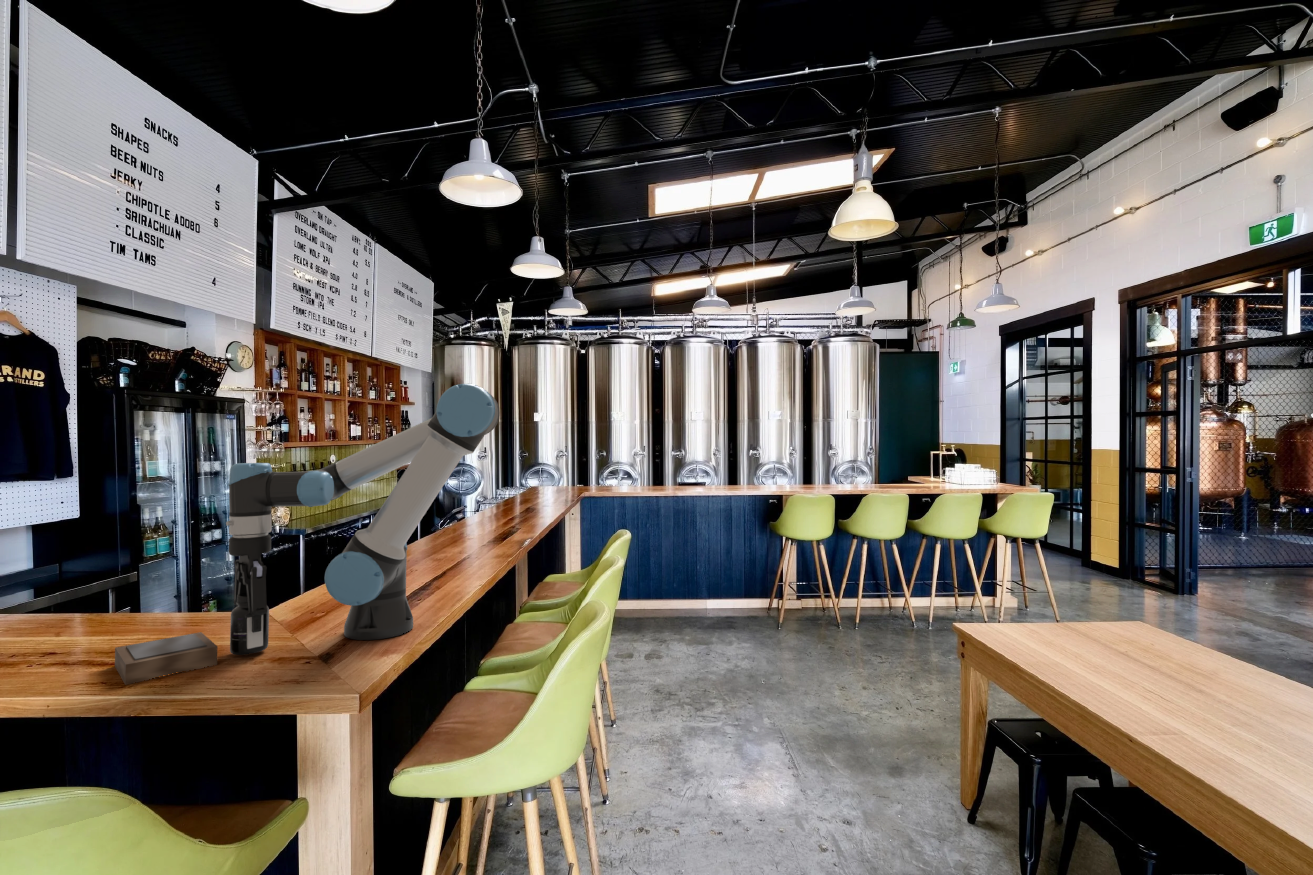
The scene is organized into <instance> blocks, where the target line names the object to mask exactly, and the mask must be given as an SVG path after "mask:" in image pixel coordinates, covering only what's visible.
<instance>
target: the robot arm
mask: <svg viewBox="0 0 1313 875" xmlns="http://www.w3.org/2000/svg"><path fill="white" fill-rule="evenodd" d="M435 410H436V411H435V413H434V414H433V416H432V417H431V418H429V419H427V420H425V421H422V422H419V423H418V424H415V425H414V426H412V427H408V428H407V429H405V430H403V431H401V432H398V433H396V434H394V435H392V436H390V437H388V438H386V439H385V438H384V439H383V440H381V441H379V442H377V443H375V444H373V445H370V446H368V447H366V448H364V449H362V450H359V451H357V452H354V453H353V454H350V455H349V456H346V457H345V458H341V459H340V460H338V461H336V462H334V463H331V464H329V465H326V466H325V467H322V468H320V469H315V470H306V471H302V470H301V471H283V472H282V471H273V468H272V465H271V463H269V462H244V463H243V462H241V463H239V462H238V463H234V464H233V465H232V466H230V469H229V480H228V484H227V486H228V492H229V493H228V494H229V497H228V498H229V502H228V503H229V512H228V515H229V518H228V519H229V520H227V521H226V522H225V525H226V527H227V526H229V527H228V531H229V532H228V533H229V535H230V536H231V537H230V538H228V555H230V556H234V557H239V559H235V560H234V562H233V563H234V570H235V571H234V573H235V574H234V591H233V592H234V594H233V596H234V597H233V600H234V601H233V605H234V606H235V608H236V607H238V605H237V595H239V594H242V593H246V592H247V599H248V610H249V614H247V615H245V618H247V649H250V648H254V647H259V646H263V615H264V614H265V613H267V606H268V604H267V599H268V598H267V570H268V567H267V565H264V561H262V556H261V555H263V554H267V553H268V554H269V552H271V550H272V535H271V534H269V533H271V532H272V530H273V529H272V527H273V526H272V524H273V523H272V521H273V520H272V517H273V516H272V508H273V507H274V508H276V507H309V508H313V507H318V506H319V507H320V506H327V505H328V504H330V502H331V501H334V500H336V499H338V498H340V497H342V496H343V495H344V494H346V493H348V492H350V491H352V490H354V489H356V488H358V487H361V486H363V485H364V484H367V483H369V482H371V481H373V480H375V479H377V478H380V477H382V476H384V475H386V474H388V473H390V472H393V471H394V470H397V469H399V468H401V467H403V466H406V465H408V464H409V465H408V466H407V468H406V469H405V471H404V472H403V473H402V475H401V477H400V478H399V480H398V481H397V483H396V484H395V486H394V487H393V489H392V490H391V492H390V494H389V496H387V498H386V499H385V501H384V502H383V504H382V506H381V507H380V509H379V510H378V511H377V513H376V514H375V516H374V518H373V519H372V520H371V522H370V523H369V525H368V526H367V527H366V528H363V529H359V530H356V532H355V533H354V535H353V536H352V537H351V539H350V540H349V542H348V543H347V545H346V547H344V549H343V550H342V552H341V553H339V554H338V555H336V556H335V557H334V558H333V559H332V560H331V561H330V563H328V566H327V567H326V569H325V572H324V584H325V588H326V590H327V592H328V594H329V595H330V596H331V597H332V598H333V599H334V600H335V601H336V602H339V603H340V604H341V605H345V606H350V608H349V611H348V614H347V615H346V616H347V617H346V619H345V623H344V626H343V636H344V637H345V638H347V639H351V640H357V641H371V640H374V641H375V640H382V639H389V638H394V637H397V636H398V637H399V636H400V635H404V634H406V632H407V633H409V632H411V631H412V630H413V628H414V616H413V613H412V610H411V607H410V605H409V601H408V599H407V551H408V544H407V542H408V540H409V539H410V537H411V536H412V534H413V533H414V532H415V530H416V528H417V527H418V525H419V524H420V522H421V521H422V519H423V517H424V516H425V515H426V514H427V511H428V510H429V509H430V507H431V506H432V504H433V502H434V501H435V500H436V498H437V496H438V495H439V493H440V492H441V490H442V488H443V487H444V486H445V484H446V483H447V481H448V479H449V478H450V476H451V475H452V473H453V472H454V471H455V469H456V467H457V466H458V464H459V462H460V461H461V460H462V458H463V457H464V456H467V455H471V454H474V452H475V451H476V449H477V448H478V447H479V444H480V443H481V442H482V440H483V439H484V437H485V435H488V434H489V433H491V432H492V431H493V430H494V429H496V426H497V424H498V423H499V419H500V412H501V411H500V405H499V404H498V402H497V399H496V398H495V397H494V396H493V395H492V394H490V392H488V391H487V390H486V389H485V388H483V387H481V386H479V385H477V384H472V383H458V384H455V385H453V386H451V387H449V388H447V389H446V390H445V391H443V393H442V394H441V396H440V397H439V399H438V402H437V404H436V409H435ZM257 608H259V609H257ZM411 629H412V630H411ZM408 631H409V632H408ZM403 633H404V634H403Z"/></svg>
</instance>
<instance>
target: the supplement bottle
mask: <svg viewBox="0 0 1313 875" xmlns="http://www.w3.org/2000/svg"><path fill="white" fill-rule="evenodd" d="M237 605H238V607H236V606H235V607H234V608H233V609H232V611H231V612H230V627H229V628H230V631H229V633H230V635H229V652H230V654H232V655H235V656H244V655H251V654H256V653H260V652H263V651H264V650H266V649H267V648H268V647H269V637H270V636H269V635H270V634H269V631H270V630H269V629H270V628H269V627H270V608H269V606H268V605H267V613H265V614H264V615H263V646H259V647H254V648H250V649H247V618H245V615H247V614H249V610H248V599H247V592H246V593H242V594H239V595H237ZM257 609H259V608H257Z"/></svg>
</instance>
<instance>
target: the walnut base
mask: <svg viewBox="0 0 1313 875" xmlns="http://www.w3.org/2000/svg"><path fill="white" fill-rule="evenodd" d="M213 665H214V666H218V645H217V644H215V643H214V642H213V641H212V640H211V639H210V638H208V636H207V635H205V633H203V632H202V631H201V632H200V631H199V632H195V633H188V634H183V635H177V636H172V637H171V636H170V637H166V638H161V639H155V640H154V639H153V640H149V641H144V642H138V643H133V644H128V645H122V646H115V648H114V668H115V669H116V671H117V673H118V674H119V676H120V679H121V680H122V682H123V683H124V685H125V686H126V685H130V684H135V682H136V683H140V682H144V680H145V681H149V679H150V680H153V679H152V678H154V679H156V678H155V677H159V676H163V675H168V674H172V673H176V672H182V671H186V672H190V671H189V670H191V671H195V670H194V669H196V670H200V669H204V667H205V668H208V667H207V666H209V667H213ZM182 673H183V672H182ZM168 676H169V675H168ZM163 677H164V676H163ZM159 678H160V677H159Z"/></svg>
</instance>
